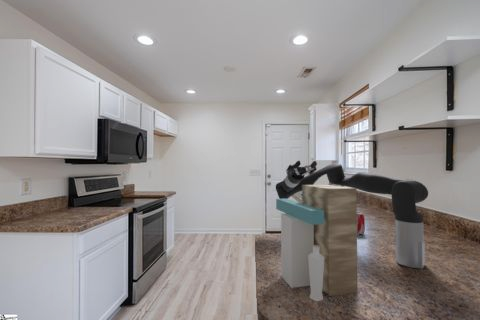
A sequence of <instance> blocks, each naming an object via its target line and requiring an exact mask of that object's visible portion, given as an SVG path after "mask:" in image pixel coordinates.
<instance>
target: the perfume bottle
mask: <svg viewBox="0 0 480 320" xmlns="http://www.w3.org/2000/svg"><path fill="white" fill-rule="evenodd" d="M312 247H313V252H312V253H310V254H309V255H308V260H309V274H310V287H309V288H310V293H309V299H311V300H313V301H315V302H319V301H323V300H324V297H323V296H324V295H323V290H322V286H323V272H324V256H323V255H321V254H320V253H319V248H320V247H319V246H318V245H313V246H312Z"/></svg>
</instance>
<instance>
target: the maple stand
mask: <svg viewBox="0 0 480 320" xmlns="http://www.w3.org/2000/svg"><path fill="white" fill-rule="evenodd" d="M301 203H302V204H305V205H308V206H312V207H315V208H318V209H321V210H324V224H318V225H314V245H318V246H319V247H320V248H319V253H320V254H321V255H323V256H324V272H323V286H322V292H324V293H325V294H327V295H328V297H333V296H339V295H345V294H351V293H352V294H353V293H358V291H359V290H358V289H359V287H358V235H357V212H358V210H357V209H358V208H357V207H358V206H357V205H358V204H357V189H356V188H351V187H347V186H341V185H334V184H313V185H302V191H301Z"/></svg>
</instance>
